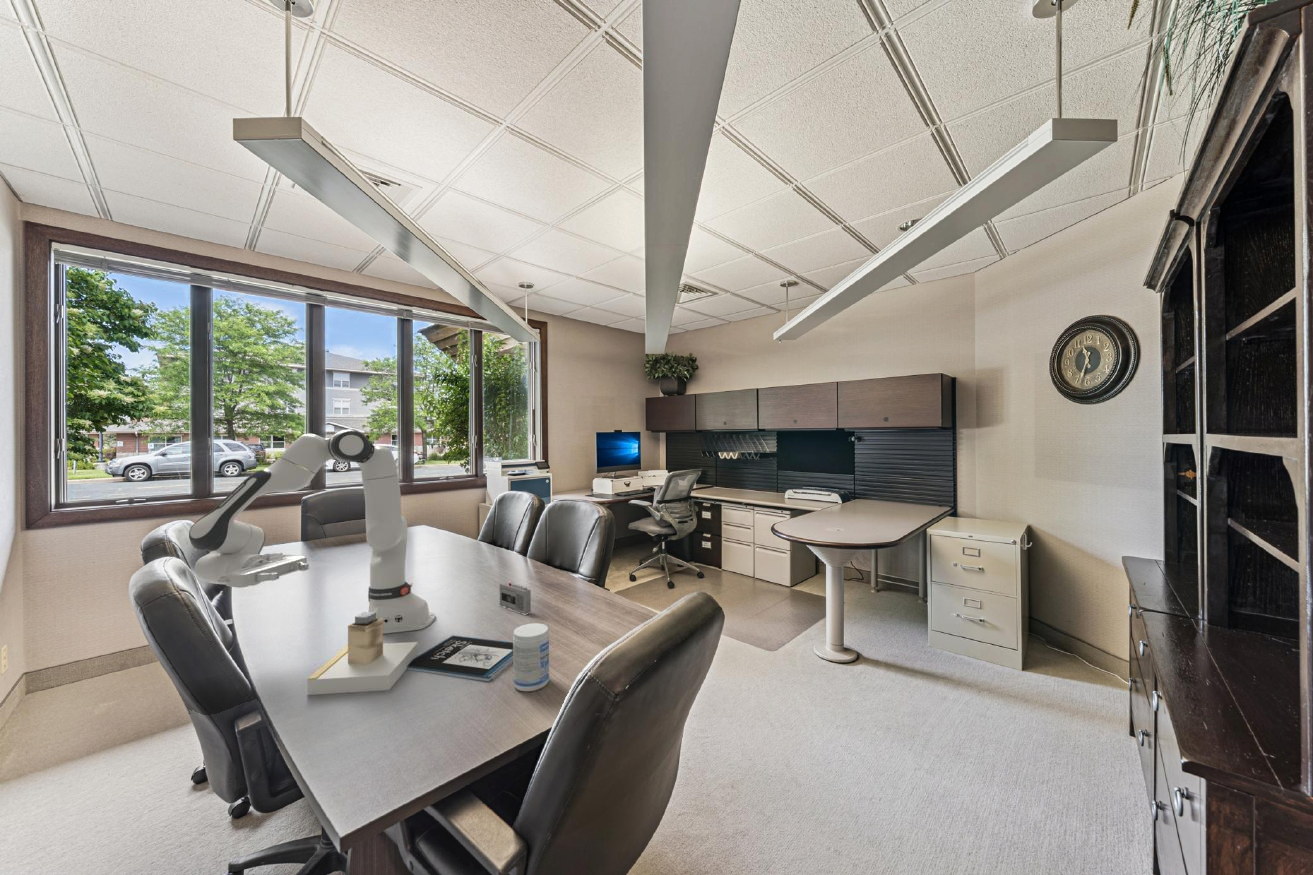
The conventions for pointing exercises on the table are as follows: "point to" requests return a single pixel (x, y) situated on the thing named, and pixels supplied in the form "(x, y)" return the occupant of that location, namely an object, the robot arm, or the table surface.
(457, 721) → the table surface
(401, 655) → the white square slab
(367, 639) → the wooden block
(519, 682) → the supplement tub
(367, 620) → the metal block
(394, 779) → the table surface
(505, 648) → the sketchbook
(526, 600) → the cassette player
